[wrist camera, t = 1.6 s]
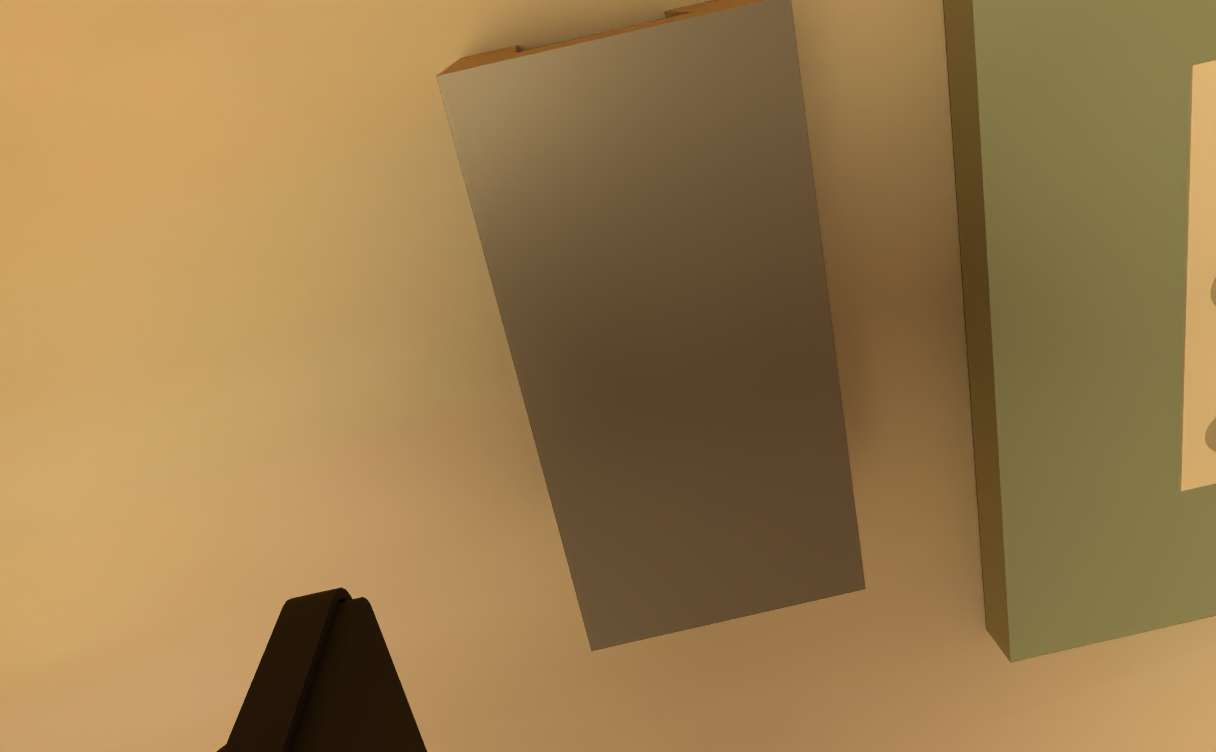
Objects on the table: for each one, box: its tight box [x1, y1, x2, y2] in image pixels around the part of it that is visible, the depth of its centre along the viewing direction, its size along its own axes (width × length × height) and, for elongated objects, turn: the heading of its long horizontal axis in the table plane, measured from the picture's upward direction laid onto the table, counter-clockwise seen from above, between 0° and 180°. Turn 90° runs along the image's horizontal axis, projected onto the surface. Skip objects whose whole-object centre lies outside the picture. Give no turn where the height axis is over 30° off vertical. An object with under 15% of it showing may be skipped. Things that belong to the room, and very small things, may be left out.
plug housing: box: [436, 0, 865, 651], centre depth 20 cm, size 12×6×6 cm, turn 12°
